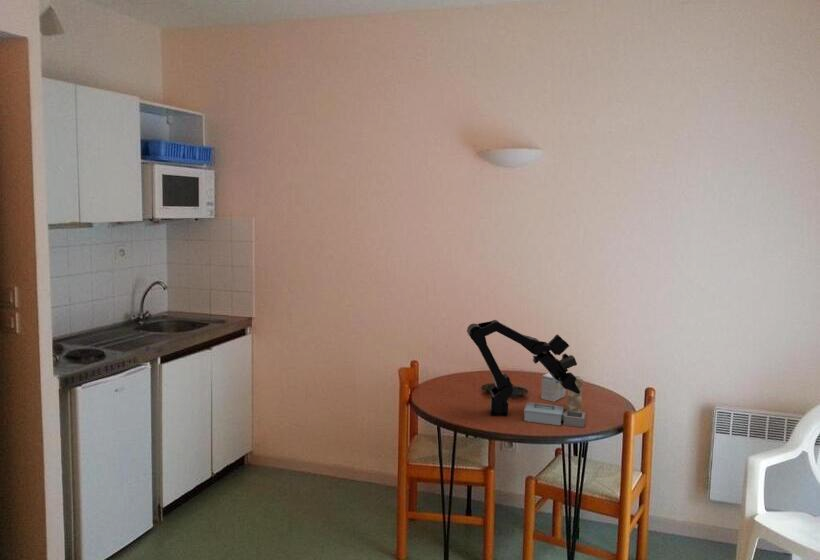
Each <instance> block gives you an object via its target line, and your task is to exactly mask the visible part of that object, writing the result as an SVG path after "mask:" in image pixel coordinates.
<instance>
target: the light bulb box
mask: <svg viewBox="0 0 820 560" xmlns="http://www.w3.org/2000/svg"><path fill="white" fill-rule="evenodd" d="M541 376H542V379H541V380H542V381H541V400H542V399H543V400H546V401H550V402H556V401H558V400H561V399H563V398H564V397H566V390H567V389H565V388H564V387H563V386H562V385H561V384H560V383H559V381H558V380H556V379H555V378H554V377H553V376H552V375H551V374H550V372H548V373H546V374H543V375H541Z"/></svg>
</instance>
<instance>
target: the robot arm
mask: <svg viewBox="0 0 820 560" xmlns="http://www.w3.org/2000/svg"><path fill="white" fill-rule="evenodd" d="M466 332H467V335H468V336H469V338H470V339H471V340H472V342H473V343H474V344H475V345H476V347H477V348H478V350H479V352H480V354H481V356H482V358H483V360H484V361H485V363H486V365H487V367H488V370H489V372H490V374H491V375H492V379H493V384H494V386H493V387H492V388H491V389H490V390H489V391H490V392H489V393H490V395H491V397H490V408H489V413H490V415H491V416H503V417H504V416H505V417H507V416H508V412H509V402H508V399H509V397H511V395H512V394H513V392H514V388H513V387H514V384H513V383H512V382H511V380H510V379H511V378H510V377H509V375H508V374H507V373H504V374H503V373H502V371H501V369H500V367H499V365H498V363H497V362H496V359H495V358H494V355H493V353H492V352H491V349H490V347H489V345H488V344H487V338H486V337H487V336H489V335H491V334H494V333H496V332H497V333H498V334H500V335H502V336H504V337H506V338H509V339H510V340H512V341H514V342H515V343H518V344H519V345H521V346H522V347H524V348H525V350H526V351H529V352H530V353H531V354H532V355H533V356H532V362H533V363H534V364H537V363H539V362H540V363H541V365H542V366H543V367H544V368H545V369H546V370H547V371H548V373H550V374H551V375H552V376H553V377H554V378H555V379H556V380H558V381H559V383H560V384H561V385H562V386H563V387H564V388H565V389H566V390H567V391H568V390H570V391H573V392H575V393H577V394H579V393H580V391H579V389H578V387H577V385H576V384H575V381H576V377H575V376H576V375H574V374H573V373H572V372H568V371H569V369H570V368H572V367H576V366H577V365H578V362H577V360H576V358H575V357H574V356H573V355H571V354H567V353H566V352H565V351H566V350H567V349H568V348H569V347H570V344H569V343H567V341H566V340H565V339H563V338H562V337H561V336H560V335H559V334H557V333H556V334H555V336H554V337H553V338H552V339H551V340H550V341H549V342H546V341H541V340H539V339H538V338H537V337H532V336H529V335H525V334H522V333H520V332H518V331H517V330H515V329H513V328H511V327H509V326H507V325H506V324H503V323H501V322H500V321H499V320H497V319H492V320H490V321H485V322H480V323H471V324H469V325H468V327H467V329H466ZM551 352H552V353H551ZM564 352H565V353H564ZM560 355H562V357H561V359H560V360H559V359H558V358H556V357H555V356H560Z"/></svg>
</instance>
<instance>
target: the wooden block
mask: <svg viewBox="0 0 820 560" xmlns="http://www.w3.org/2000/svg"><path fill="white" fill-rule="evenodd" d="M574 376H575V377H576V381H575V384H576V385H577V387H578V389H579V391H580V393H579V394H577V393H575V392H573V391H570V390H568V389H567V400H566V402H567V403H566V410H568V411H576V412H582V401H583V400H582V398H583V382H584V379H583V378H582V377H581V376H579V375H574Z"/></svg>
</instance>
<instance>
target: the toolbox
mask: <svg viewBox="0 0 820 560" xmlns="http://www.w3.org/2000/svg"><path fill="white" fill-rule="evenodd" d="M564 410H565V411H564ZM523 413H524V414H523V415H524V418H523V420H524V422H529V423H537V424H545V425H554V426H561V424H562V422H563V426H570V427H577V428H584V426H585V422H586V412H584V411H581V412H576V411H568V410H567V409H565V406H562V405H556V404H555V405H554V404H546V403H539V402H530V401H528V402H526V405H525V408H524V410H523Z"/></svg>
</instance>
